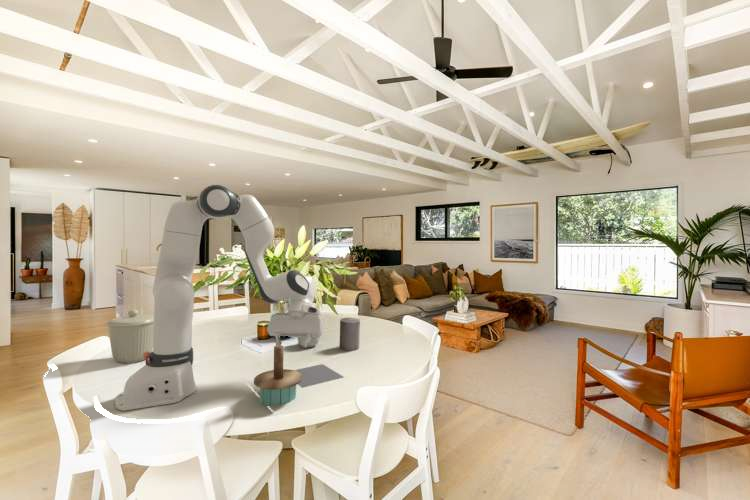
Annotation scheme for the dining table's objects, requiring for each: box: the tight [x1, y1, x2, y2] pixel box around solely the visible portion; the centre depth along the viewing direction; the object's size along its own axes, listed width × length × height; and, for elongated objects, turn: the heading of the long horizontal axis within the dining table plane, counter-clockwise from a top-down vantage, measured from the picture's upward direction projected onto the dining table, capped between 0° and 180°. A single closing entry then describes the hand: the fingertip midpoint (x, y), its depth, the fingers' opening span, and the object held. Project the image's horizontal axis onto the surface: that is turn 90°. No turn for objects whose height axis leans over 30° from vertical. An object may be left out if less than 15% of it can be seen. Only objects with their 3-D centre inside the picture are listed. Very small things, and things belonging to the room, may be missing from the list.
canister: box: [106, 309, 154, 364], centre depth 148 cm, size 18×18×21 cm
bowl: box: [259, 385, 297, 407], centre depth 114 cm, size 11×11×6 cm
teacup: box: [297, 337, 320, 348], centre depth 174 cm, size 14×11×8 cm
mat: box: [293, 363, 344, 389], centre depth 133 cm, size 17×17×1 cm
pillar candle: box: [339, 317, 361, 352], centre depth 170 cm, size 10×10×15 cm
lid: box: [253, 344, 302, 390], centre depth 114 cm, size 15×15×11 cm
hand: (290, 346), depth 126 cm, fingers open, 8 cm apart
